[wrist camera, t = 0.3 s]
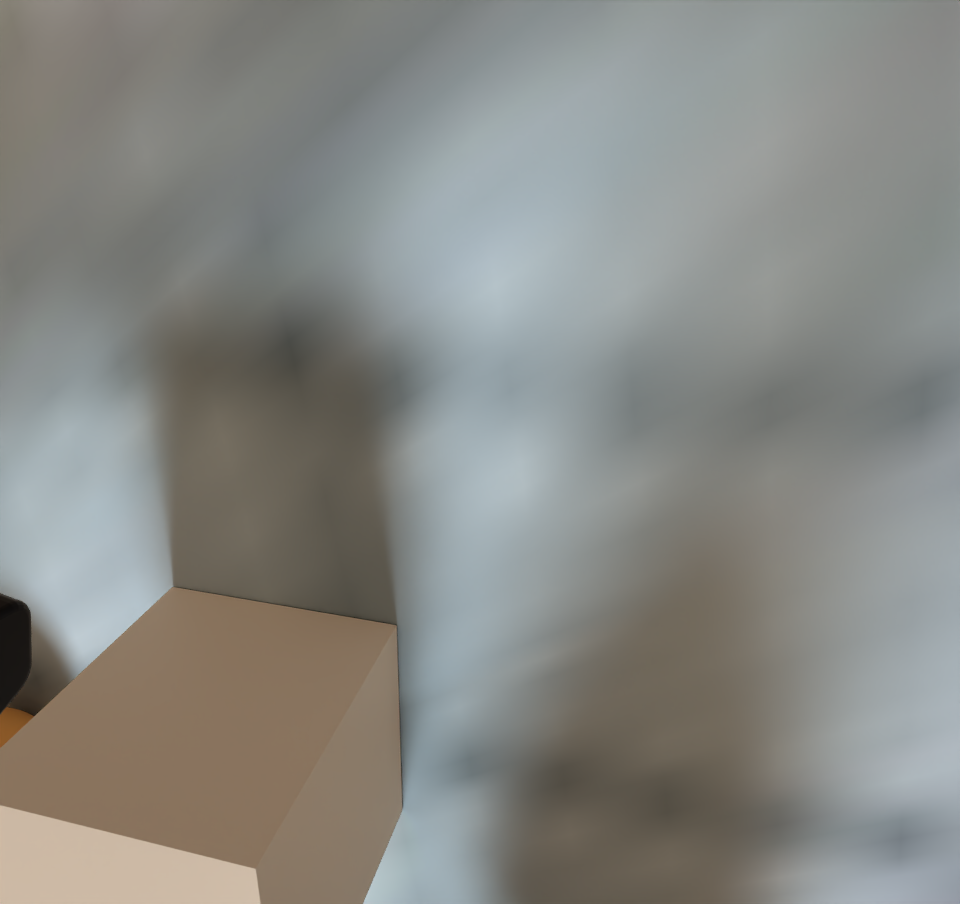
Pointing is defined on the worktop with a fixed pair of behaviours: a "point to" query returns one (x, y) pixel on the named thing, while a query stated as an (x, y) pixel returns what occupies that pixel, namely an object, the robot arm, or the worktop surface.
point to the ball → (12, 723)
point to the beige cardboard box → (210, 763)
